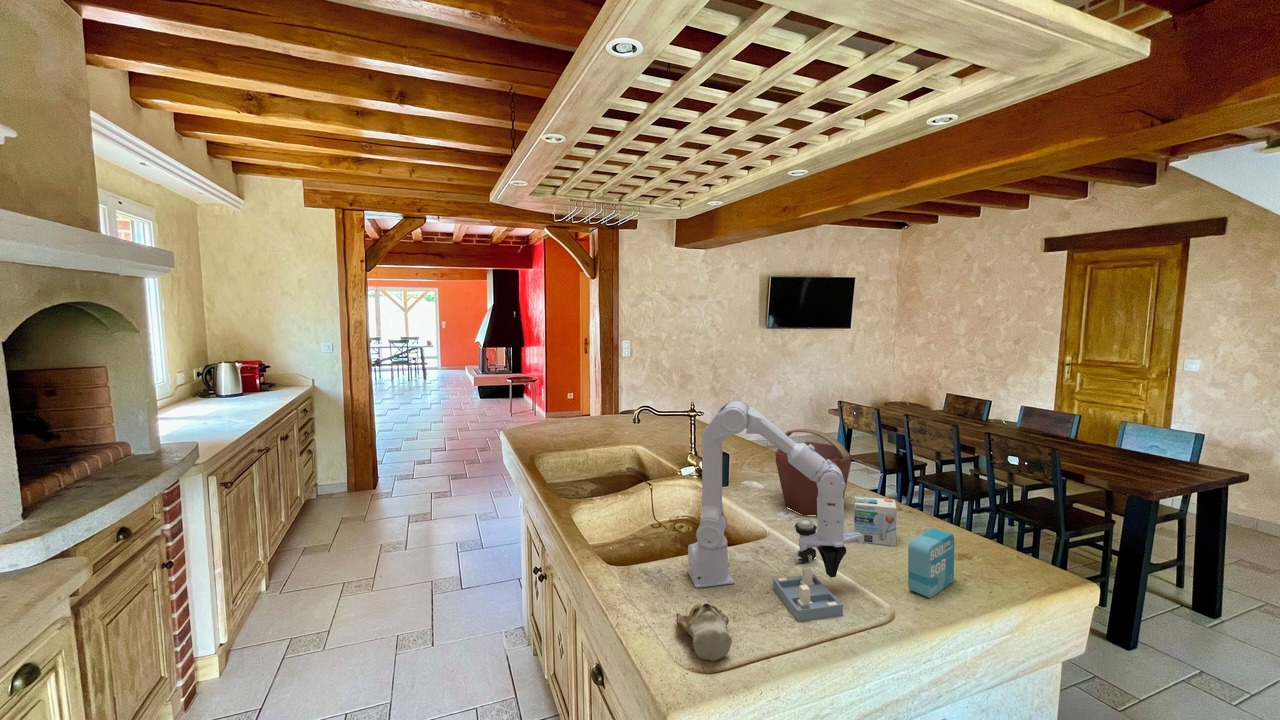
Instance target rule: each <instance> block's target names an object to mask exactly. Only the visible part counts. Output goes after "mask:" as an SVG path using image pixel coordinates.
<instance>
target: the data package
mask: <svg viewBox="0 0 1280 720" xmlns="http://www.w3.org/2000/svg"><path fill="white" fill-rule="evenodd" d="M907 551H908V552H907V553H908V554H907V555H908V556H907V560H908V561H907V563H908V564H907V567H908V568H907V569H908V570H907V571H908V572H907V574H908V575H907V578H908V579H907V583H908V585H907V586H908V589H909V590H910V591H912V592H915V593H916V594H920V595H921V596H924V597H926V598H929V599H932V598H933V597H934V596H935V595H938V593H940V592H941V591H943V590H944V589H946V588H947V587H949V586H950V585H951V584H952V583H953V581H954V578H955V536H954V534H953V533H950V532H946V531H943V530H940V529H937V528H934V527H931V528H930V529H928V530H926V531H924V532H922V533H920V534H919V535H917V536H915V537H914V538H912V539H911V540H910V541H909V543H908V550H907Z"/></svg>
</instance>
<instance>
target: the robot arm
mask: <svg viewBox="0 0 1280 720" xmlns="http://www.w3.org/2000/svg"><path fill="white" fill-rule="evenodd" d="M745 429H746V431H745V434H747V435H751V434H752V435H760V436H761V437H763V438H764V439H766V440H767V441H768V442H769V443H770V444H772V445H774V446H775V447H776V448H777V449H781V450H782V451H783V452H785V453H786V454H787V456H788V462H789V463H790V464H791V465H793V466H794V467H795V468H796V469H798V470H799V471H800V472H801V473H803V474H804V475H805V476H806V477H808V478H809V479H810V480H812V481H815V482H817V487H818V496H817V517H816V527H817V529H816V533H815V534H813V535H810V536H807V537H803V538H800V537H799V538H798V547H799V549H800V548H801V549H802V550H806V549H807V548H811V547H812V548H817V549H816V550H817V551H818V553H819V554H820V557H821V559H822V563H823V565H824V569H825V573H826V575H827V576H828V577H829V578H836V577H837V573H838V570H839V566H840V564H841V561H842V560H843V558H844V557H845V555H846V554H847V547H846V546H844V544H852V543H857V544H863V542H862V534H860V533H859V532H854V531H845V520H844V519H845V506H844V505H845V501H844V499H843V491H844V489H845V486H846V487H847V485H846V484H845V482H844V478H843V475H842V472H841V470H840V469H839V468H838V467H837V465H836V464H835V463H832V462H831V461H830V460H829V459H827V460H825V459H824V458H823V457H822V456H820V455H819V454H818V453H817V452H815V451H814V447H813V446H812V445H811V444H809V446H808V445H806V444H805V443H803V442H795V441H794V440H793V439H792V438H790V436H789V437H788V436H787V435H785V433H784V432H783V431H782V430H781V429H780V428H778V427H777V425H775V424H774V423H773V422H771V421H770V420H769V419H768V418H766V417H765V415H763V414H762V413H760V412H759V411H758V410H757V409H755V408H754V407H752V406H749V405H748V404H747V403H746V402H745V401H743V400H741V399H732V400H730V401H728V402H727V403H725V404H724V405H722V406H721V407H720V408H719V409H718V411H717V412H716V413H715V415H714V416H713V418H711V420H710V422H709V423H708V424H707V426H706V427H705V428H704V430H703V432H702V437H701V439H702V441H701V442H702V443H701V445H702V447H701V448H702V449H701V453H702V454H701V456H702V457H701V458H702V459H701V461H702V462H701V463H702V464H701V466H702V469H701V471H702V474H701V476H702V477H701V482H702V483H701V485H702V486H701V489H702V490H701V493H702V494H701V495H702V497H701V501H702V503H701V512H700V516H699V517H700V519H699V522H700V523H699V526H698V528H697V529H696V533H695V537H696V540H697V541H696V542H694V543H691V544H688V547H687V558H688V559H687V560H688V561H687V562H688V571H687V572H688V575H689V577H690V579H691V581H692V583H693V585H694V587H695V588H696V589H699V588H705V587H706V588H707V587H715V586H722V585H731V584H734V583H735V580H734V578H733V577H732V576H731V574H730V573H729V556H728V555H729V553H728V551H729V550H728V539H727V537H726V536H725V530H726V528H727V526H728V525H727V524H728V521H727V517H726V515H725V513H724V504H723V442H724V441H726V440H728V438H729V437H730V436H734V435H737V434H739V433H741V432H743V431H744V430H745ZM845 490H846V489H845Z"/></svg>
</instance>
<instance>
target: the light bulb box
mask: <svg viewBox="0 0 1280 720" xmlns="http://www.w3.org/2000/svg"><path fill="white" fill-rule="evenodd" d="M853 505H854V507H853V509H854V510H853V532H859V533H860V534H862V543H866V544H873V545H882V546H887V547H888V546H890V547H897V513H898V512H897V509H898V508H897V504H896V500H895V499H891V498H890V499H889V498H879V497H867V496H858V495H855V496H854V503H853Z"/></svg>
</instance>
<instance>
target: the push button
mask: <svg viewBox="0 0 1280 720" xmlns="http://www.w3.org/2000/svg"><path fill="white" fill-rule="evenodd" d="M794 528H795V532H796V533H797V534H798V535H799V538H803V537H807V536H810V535H813V534H816V533H817V524H814V522H813V521H812V520H809V519H800V520H798V521H797V522H796V523H795V525H794ZM796 553H797V554H796V555H797V556H796V557H794V559H795V561H794V563H795V564H798V563H801V564H805V563H808V562H809V563H811V562H813V560H812V559H814V558H815V557H816V558H817V549H815V548H814V547H811V548H807V549H806V550H802V549H801V548H800V547H799V550H797V552H796Z"/></svg>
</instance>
